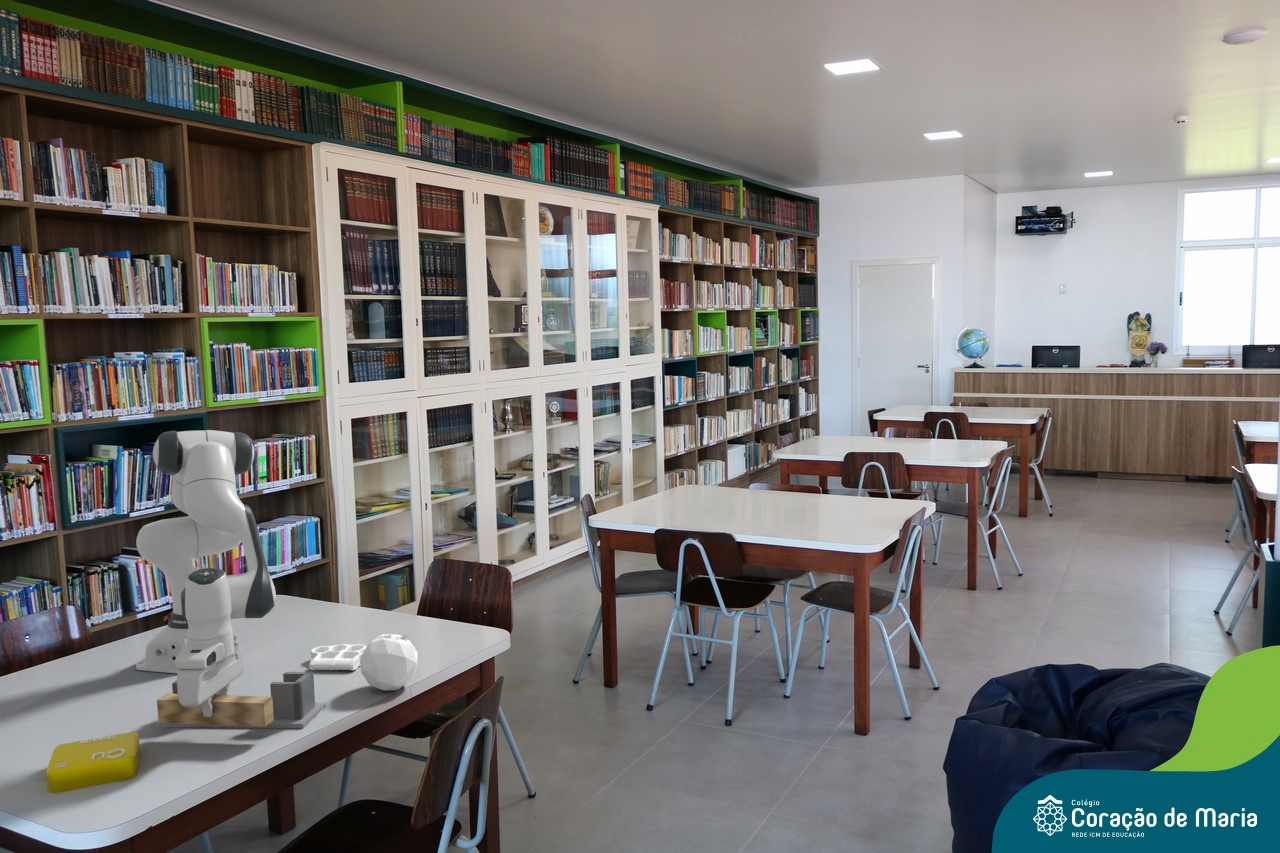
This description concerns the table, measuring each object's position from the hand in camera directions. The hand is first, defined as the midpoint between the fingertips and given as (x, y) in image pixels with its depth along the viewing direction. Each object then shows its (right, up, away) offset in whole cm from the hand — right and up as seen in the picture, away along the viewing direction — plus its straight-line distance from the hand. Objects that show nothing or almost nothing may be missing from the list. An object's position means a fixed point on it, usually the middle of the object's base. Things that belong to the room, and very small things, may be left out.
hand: (215, 710), depth 202 cm
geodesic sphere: (+30, -3, +28) cm, 41 cm away
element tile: (-18, -8, -13) cm, 24 cm away
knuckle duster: (+12, -2, +47) cm, 49 cm away
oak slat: (0, -2, 0) cm, 2 cm away
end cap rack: (+1, -5, +12) cm, 13 cm away
